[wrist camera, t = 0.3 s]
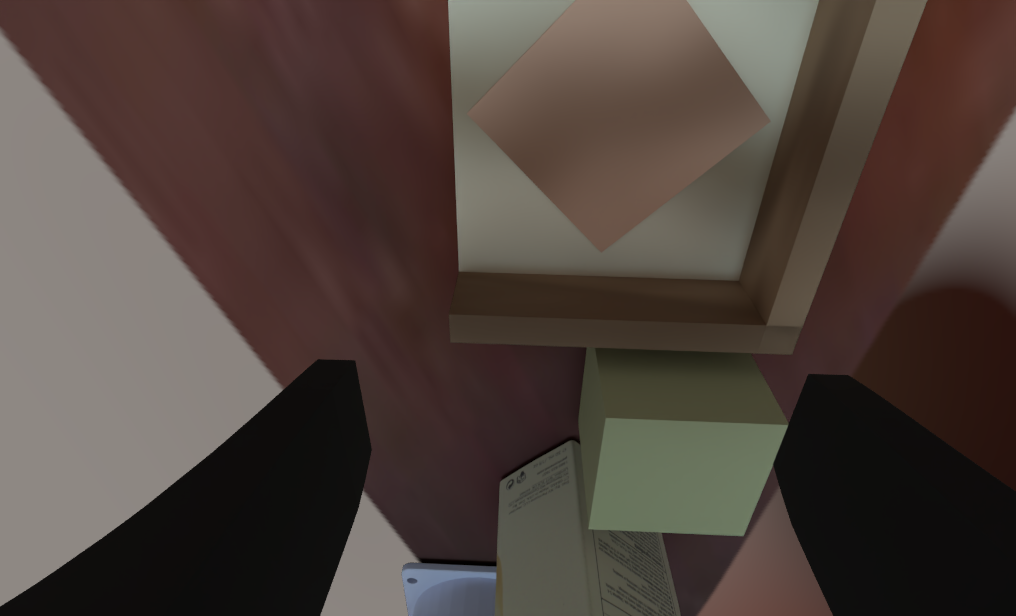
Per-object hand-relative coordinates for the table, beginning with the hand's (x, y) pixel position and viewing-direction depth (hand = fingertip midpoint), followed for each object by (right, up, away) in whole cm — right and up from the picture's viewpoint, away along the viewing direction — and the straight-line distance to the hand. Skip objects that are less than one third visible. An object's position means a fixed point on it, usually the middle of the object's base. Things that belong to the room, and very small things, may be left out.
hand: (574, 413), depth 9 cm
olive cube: (+4, -1, +11) cm, 12 cm away
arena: (+2, +7, +6) cm, 10 cm away
